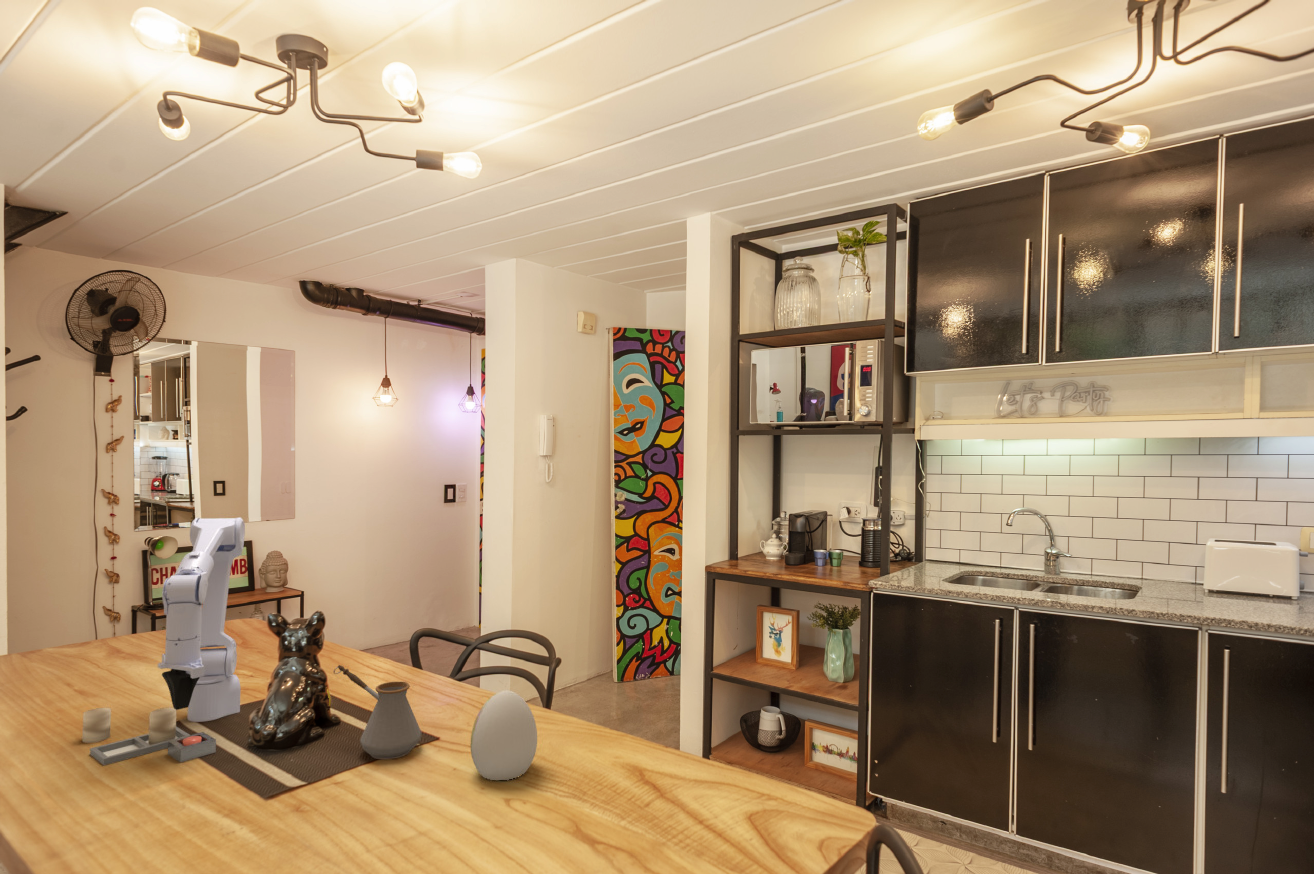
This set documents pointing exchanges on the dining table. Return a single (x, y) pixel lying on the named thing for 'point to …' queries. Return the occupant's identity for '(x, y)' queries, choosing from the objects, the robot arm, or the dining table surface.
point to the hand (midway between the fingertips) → (181, 707)
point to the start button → (191, 740)
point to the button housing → (191, 748)
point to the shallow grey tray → (129, 748)
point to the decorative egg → (503, 737)
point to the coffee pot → (388, 720)
